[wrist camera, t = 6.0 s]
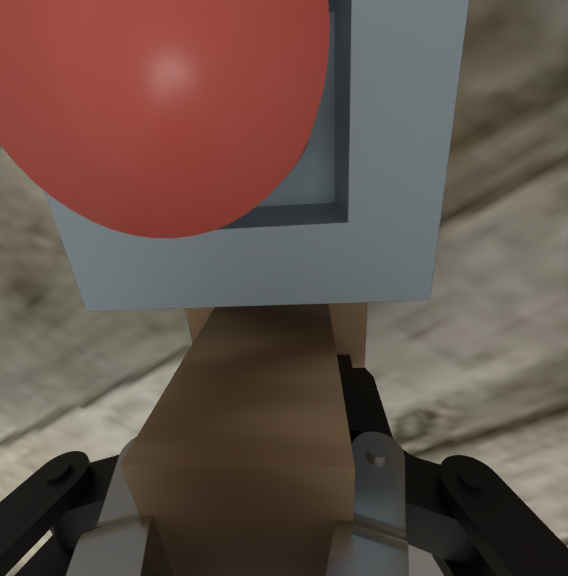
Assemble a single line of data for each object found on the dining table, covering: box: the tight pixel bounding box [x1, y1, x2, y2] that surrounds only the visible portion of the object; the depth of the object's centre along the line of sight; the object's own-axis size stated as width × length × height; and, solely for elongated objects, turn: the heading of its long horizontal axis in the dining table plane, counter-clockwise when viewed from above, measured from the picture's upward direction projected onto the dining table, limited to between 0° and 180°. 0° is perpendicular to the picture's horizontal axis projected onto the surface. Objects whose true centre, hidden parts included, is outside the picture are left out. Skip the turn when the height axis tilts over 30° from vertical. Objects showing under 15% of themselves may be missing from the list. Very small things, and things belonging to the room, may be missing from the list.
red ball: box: [0, 0, 330, 238], centre depth 4 cm, size 3×3×3 cm
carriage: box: [120, 302, 367, 576], centre depth 11 cm, size 7×6×10 cm
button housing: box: [45, 0, 469, 311], centre depth 9 cm, size 8×8×8 cm
